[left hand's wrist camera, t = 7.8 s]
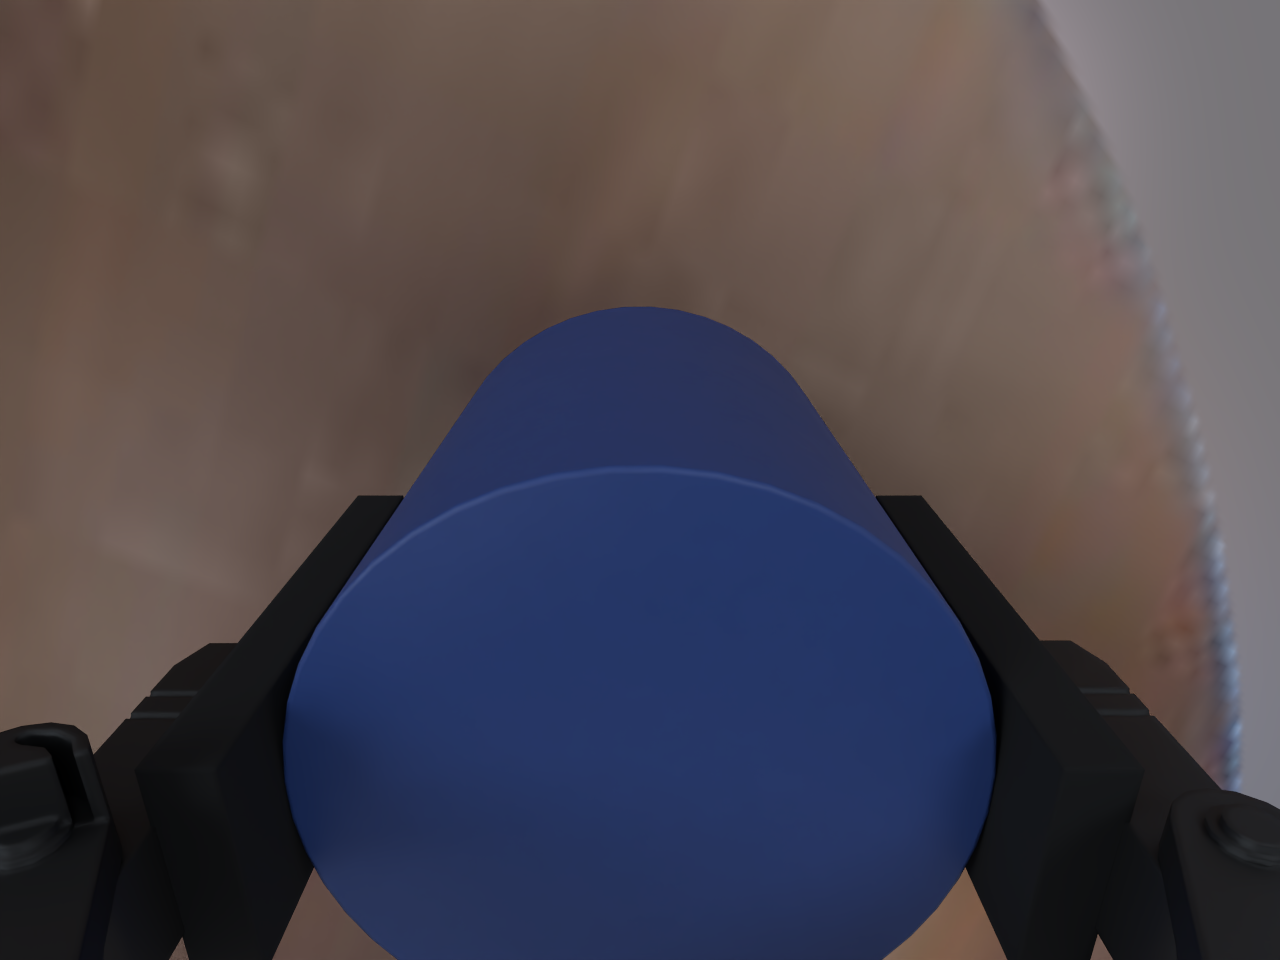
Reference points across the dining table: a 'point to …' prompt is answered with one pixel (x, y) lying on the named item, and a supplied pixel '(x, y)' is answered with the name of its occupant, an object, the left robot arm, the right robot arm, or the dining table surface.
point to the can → (639, 677)
